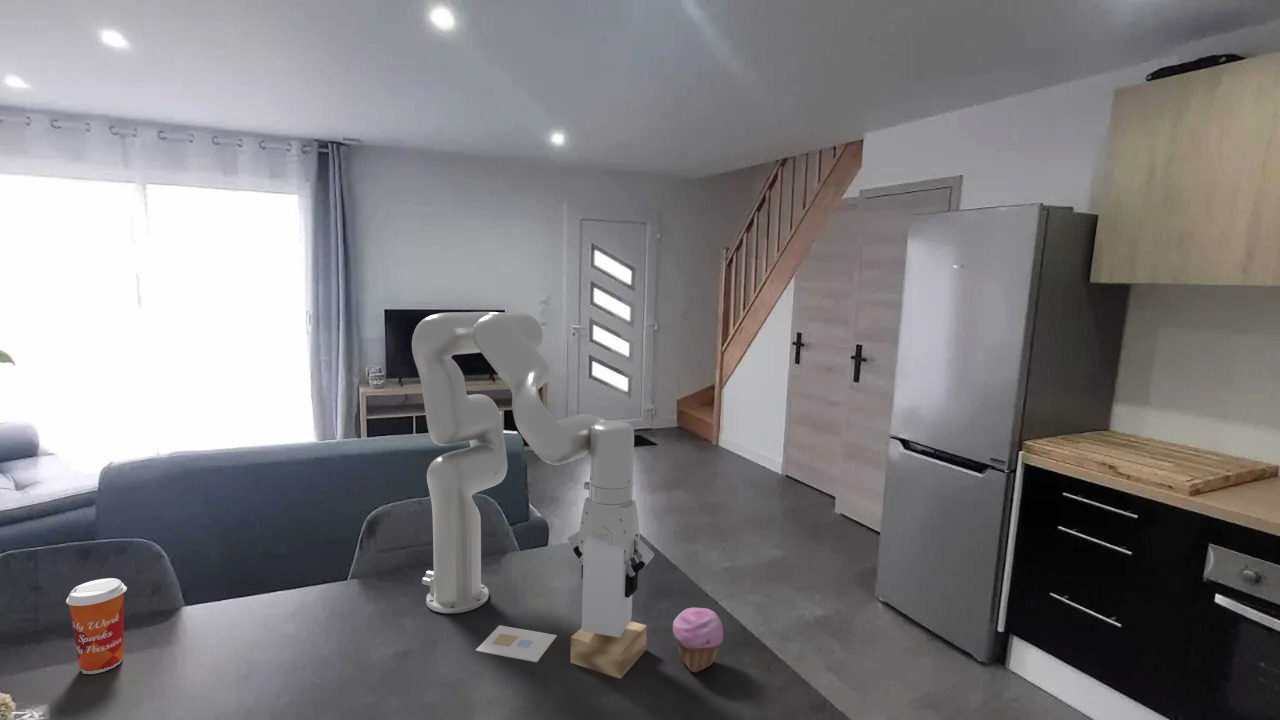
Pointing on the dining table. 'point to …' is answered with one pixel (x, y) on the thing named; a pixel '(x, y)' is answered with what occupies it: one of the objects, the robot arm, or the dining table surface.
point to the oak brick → (609, 650)
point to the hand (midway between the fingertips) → (609, 588)
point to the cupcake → (698, 637)
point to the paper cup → (98, 622)
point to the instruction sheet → (517, 643)
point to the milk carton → (604, 589)
